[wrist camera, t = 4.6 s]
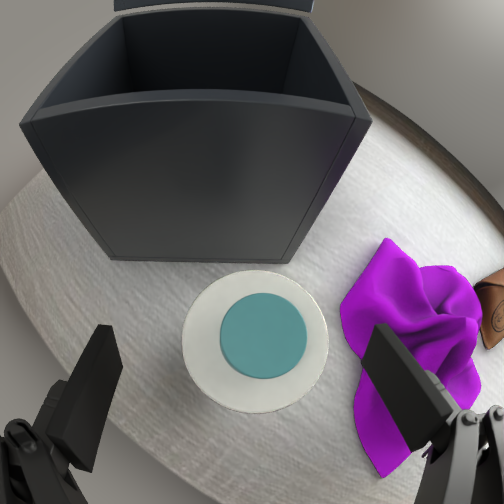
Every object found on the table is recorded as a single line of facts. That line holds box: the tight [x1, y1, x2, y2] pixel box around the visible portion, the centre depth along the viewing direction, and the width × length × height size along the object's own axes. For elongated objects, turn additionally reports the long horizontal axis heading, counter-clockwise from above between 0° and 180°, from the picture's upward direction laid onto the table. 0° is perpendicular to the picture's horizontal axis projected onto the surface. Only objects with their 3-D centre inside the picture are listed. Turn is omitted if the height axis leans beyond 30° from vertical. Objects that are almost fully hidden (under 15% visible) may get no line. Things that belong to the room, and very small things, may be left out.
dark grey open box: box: [19, 7, 373, 264], centre depth 18 cm, size 14×15×15 cm
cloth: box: [340, 238, 482, 478], centre depth 18 cm, size 22×19×6 cm
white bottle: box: [181, 270, 328, 414], centre depth 13 cm, size 5×5×12 cm
